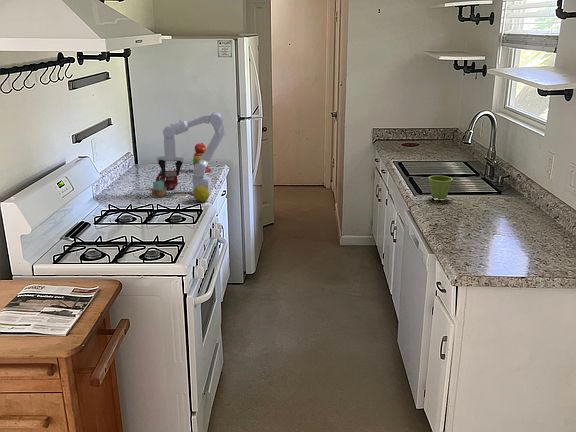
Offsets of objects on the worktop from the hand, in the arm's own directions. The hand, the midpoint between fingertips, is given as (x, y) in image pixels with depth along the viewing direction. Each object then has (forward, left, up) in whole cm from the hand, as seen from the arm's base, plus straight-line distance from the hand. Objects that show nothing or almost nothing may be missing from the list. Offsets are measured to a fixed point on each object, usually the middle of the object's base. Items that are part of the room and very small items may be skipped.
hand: (171, 174), depth 300 cm
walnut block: (+5, +6, -11) cm, 13 cm away
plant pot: (-139, -11, -11) cm, 140 cm away
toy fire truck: (+7, -10, -11) cm, 16 cm away
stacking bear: (+2, -54, -11) cm, 55 cm away
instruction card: (-6, +4, -10) cm, 13 cm away
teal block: (+5, +6, -7) cm, 10 cm away
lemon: (-20, +12, -11) cm, 26 cm away
